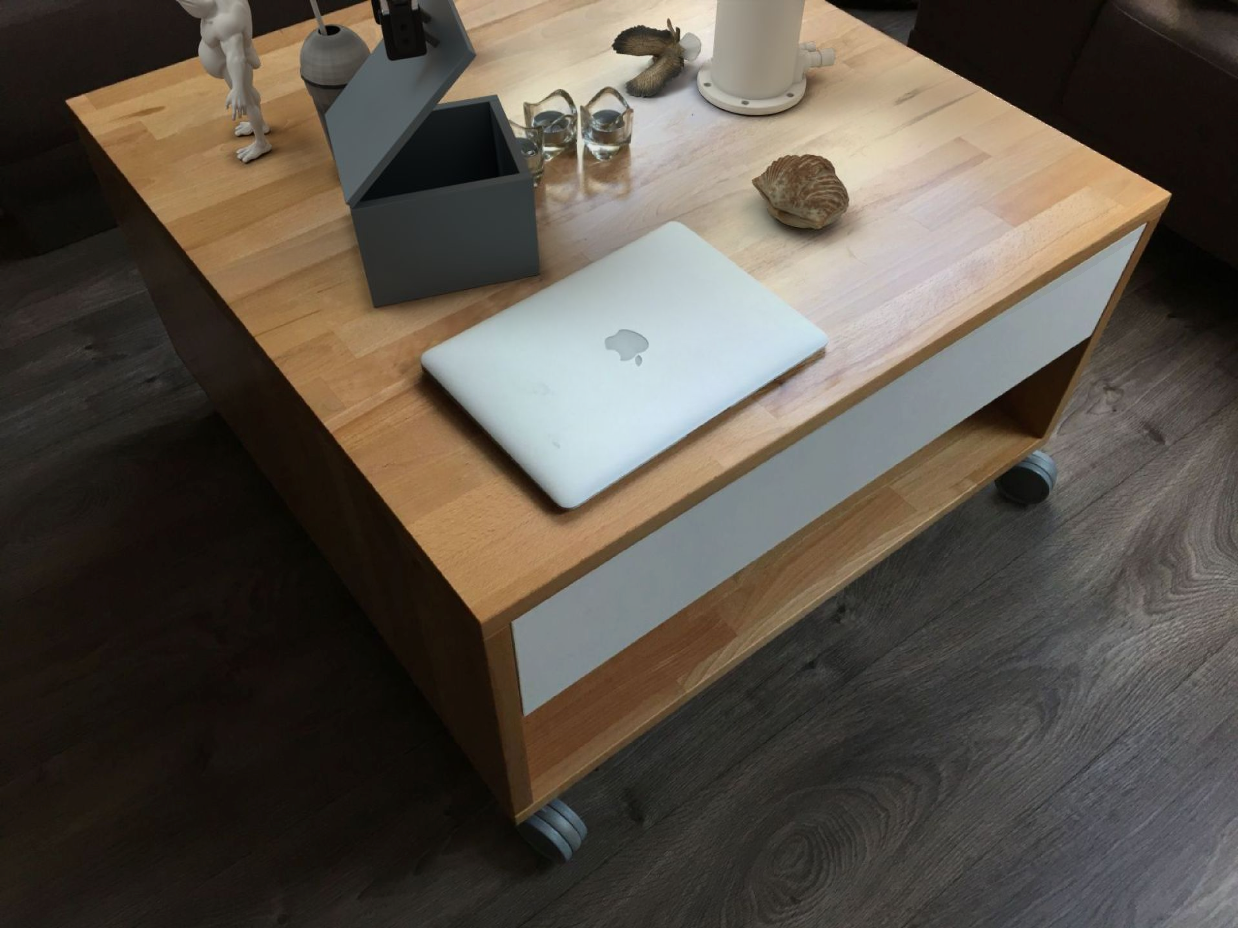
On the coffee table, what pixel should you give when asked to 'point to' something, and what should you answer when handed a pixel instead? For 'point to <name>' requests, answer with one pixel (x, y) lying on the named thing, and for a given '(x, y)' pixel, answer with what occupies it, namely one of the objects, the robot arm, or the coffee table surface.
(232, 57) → the figurine
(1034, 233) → the coffee table surface
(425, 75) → the lid
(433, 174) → the chest
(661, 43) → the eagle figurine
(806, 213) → the seashell
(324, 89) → the beverage cup
